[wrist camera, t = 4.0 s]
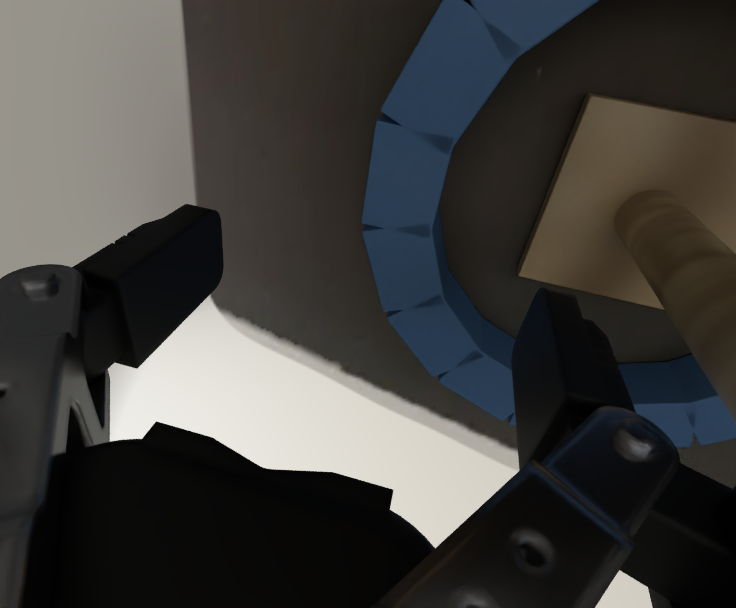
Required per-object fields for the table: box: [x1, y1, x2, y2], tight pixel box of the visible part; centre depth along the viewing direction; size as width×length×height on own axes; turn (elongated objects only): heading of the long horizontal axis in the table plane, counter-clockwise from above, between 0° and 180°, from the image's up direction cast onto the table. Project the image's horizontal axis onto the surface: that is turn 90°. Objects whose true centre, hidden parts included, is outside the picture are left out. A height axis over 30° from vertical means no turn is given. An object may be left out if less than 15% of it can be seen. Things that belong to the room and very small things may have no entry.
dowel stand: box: [517, 93, 736, 423], centre depth 14 cm, size 8×8×13 cm
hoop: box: [361, 0, 736, 447], centre depth 18 cm, size 23×23×3 cm
